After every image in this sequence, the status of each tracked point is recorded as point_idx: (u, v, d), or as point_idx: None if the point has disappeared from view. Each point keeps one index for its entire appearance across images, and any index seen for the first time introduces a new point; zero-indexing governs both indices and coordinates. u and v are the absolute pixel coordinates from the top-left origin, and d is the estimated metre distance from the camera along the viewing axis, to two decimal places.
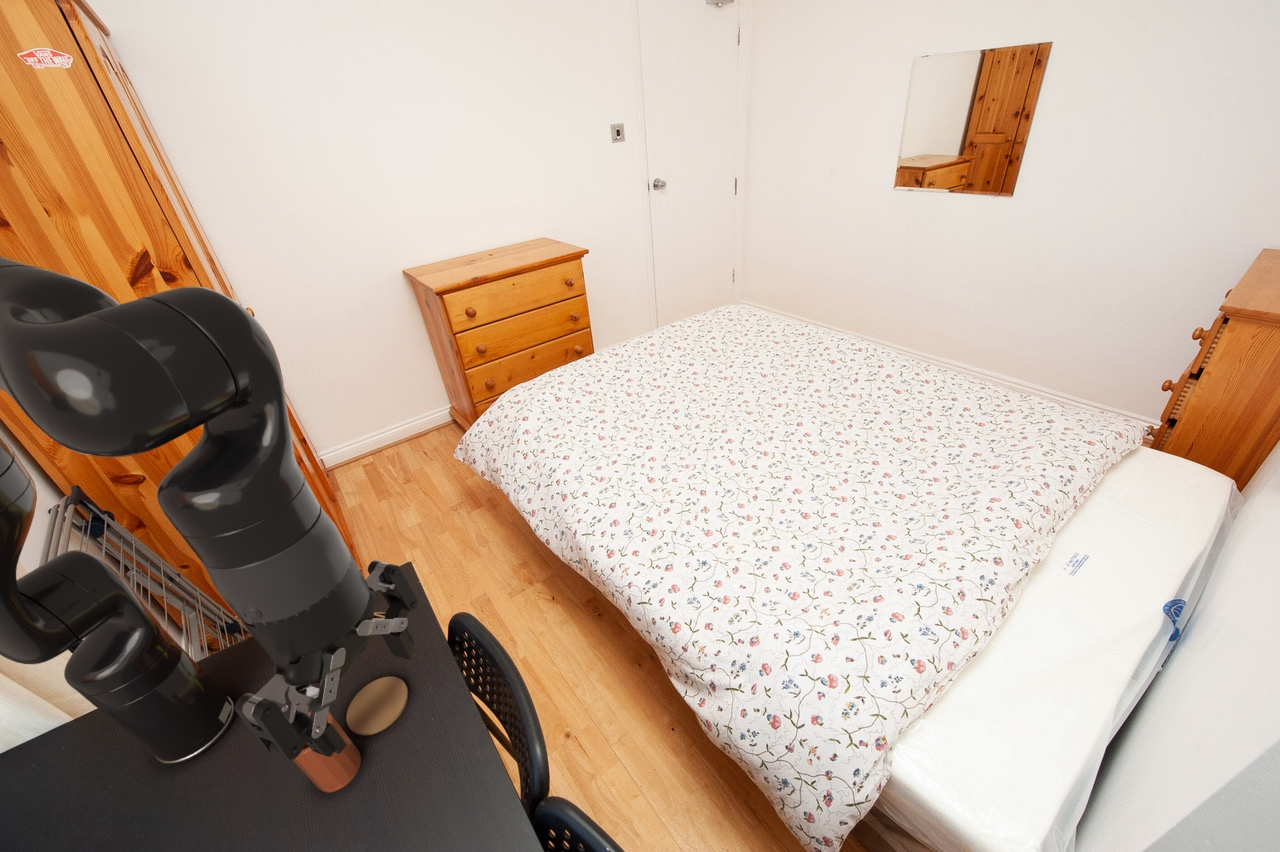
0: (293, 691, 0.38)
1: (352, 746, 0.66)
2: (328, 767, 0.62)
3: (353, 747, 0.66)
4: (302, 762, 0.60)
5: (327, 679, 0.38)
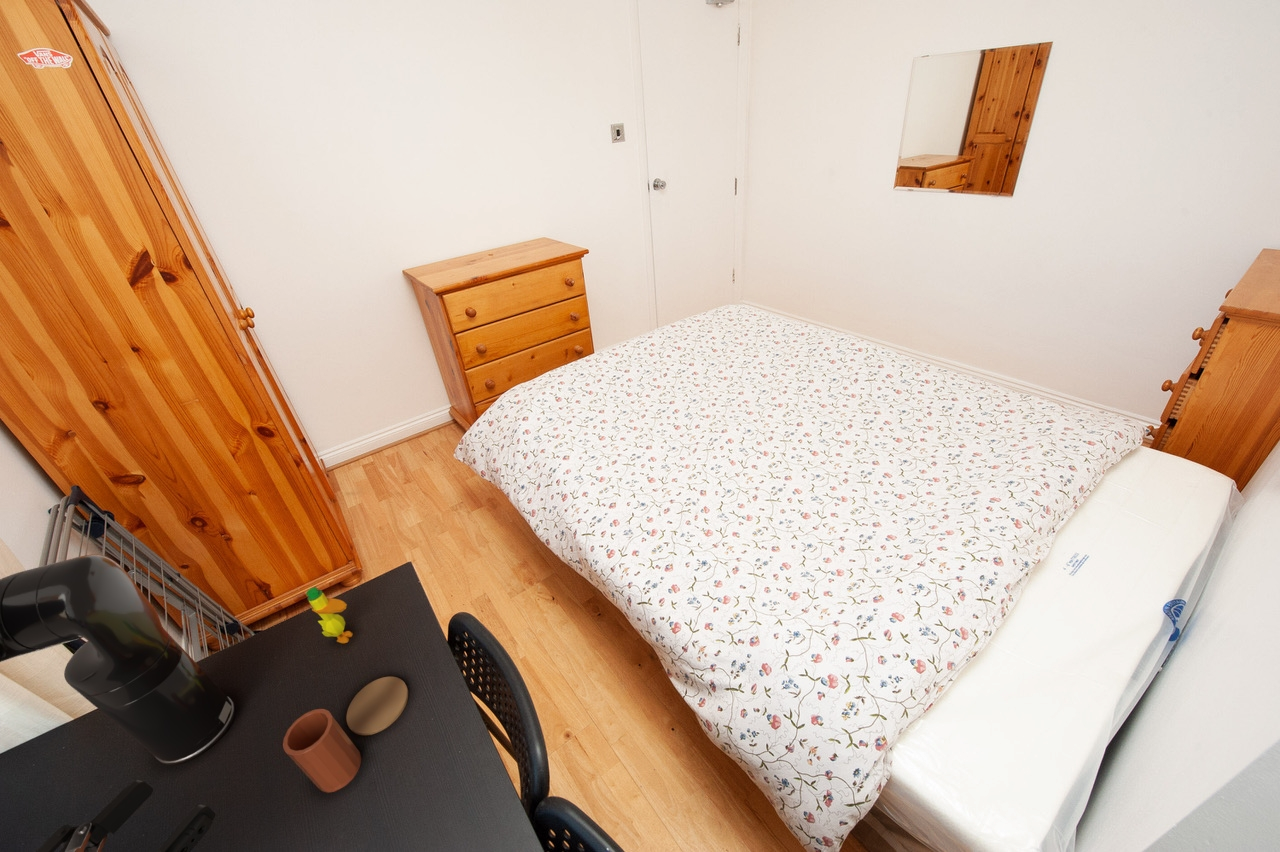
0: None
1: (352, 746, 0.66)
2: (328, 767, 0.62)
3: (353, 747, 0.66)
4: (302, 762, 0.60)
5: None
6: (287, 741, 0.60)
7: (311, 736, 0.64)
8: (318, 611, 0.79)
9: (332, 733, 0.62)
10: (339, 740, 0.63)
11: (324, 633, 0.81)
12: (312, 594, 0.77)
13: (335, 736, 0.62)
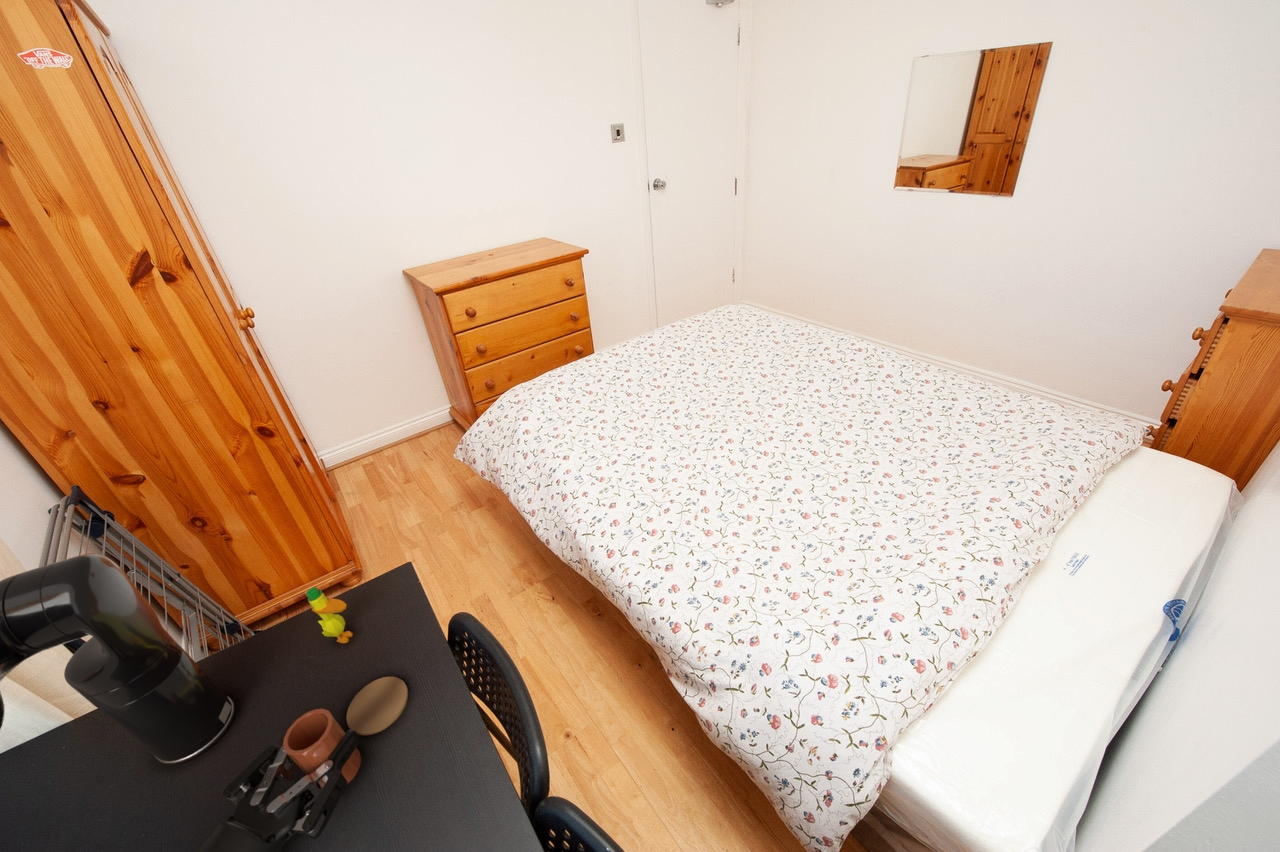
0: (268, 771, 0.60)
1: None
2: None
3: None
4: (302, 762, 0.60)
5: None
6: (287, 741, 0.60)
7: (311, 736, 0.64)
8: (318, 611, 0.79)
9: (332, 733, 0.62)
10: (339, 740, 0.63)
11: (324, 633, 0.81)
12: (312, 594, 0.77)
13: (335, 736, 0.62)
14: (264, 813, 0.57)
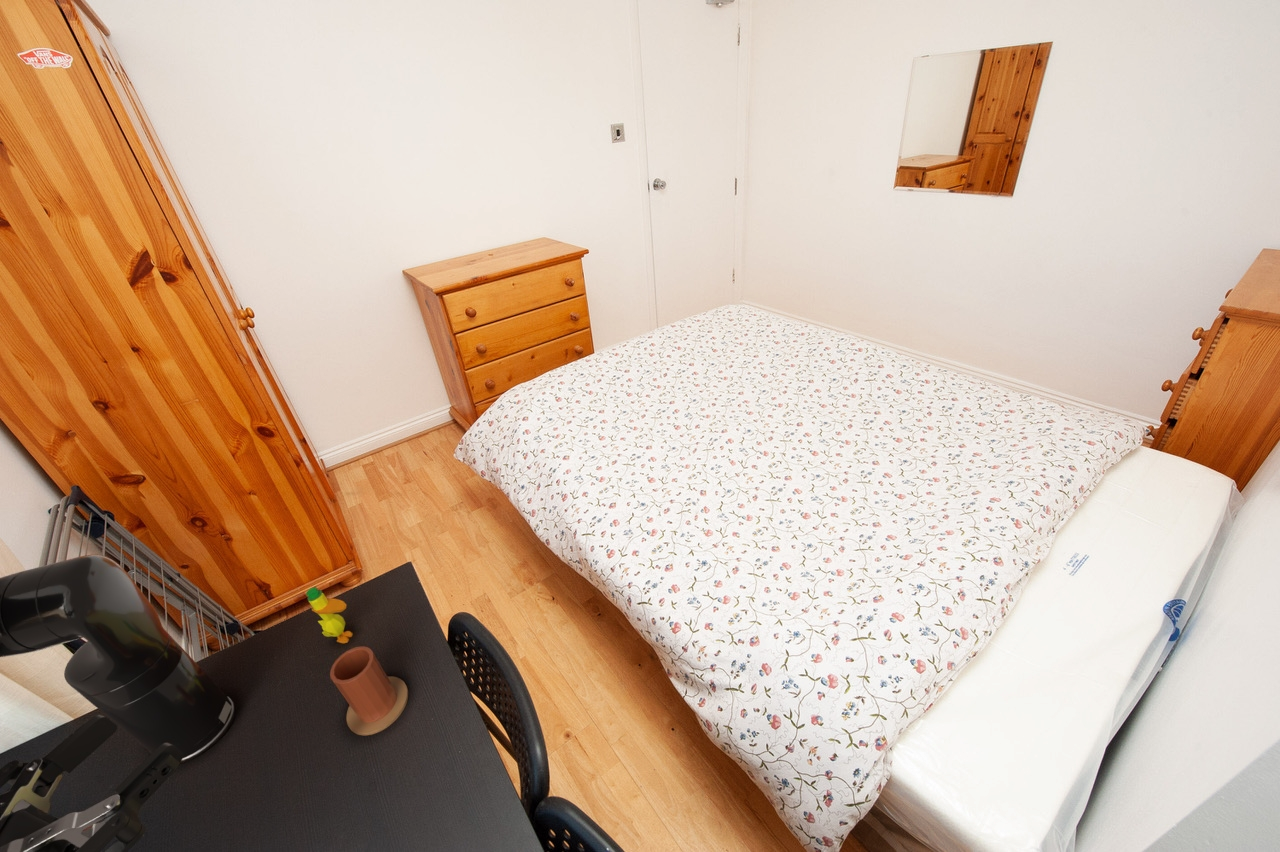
0: None
1: (389, 682, 0.73)
2: (369, 698, 0.69)
3: (390, 683, 0.73)
4: (347, 691, 0.67)
5: None
6: (334, 673, 0.67)
7: (352, 672, 0.71)
8: (318, 611, 0.79)
9: (373, 667, 0.69)
10: (379, 674, 0.70)
11: (324, 633, 0.81)
12: (312, 594, 0.77)
13: (376, 670, 0.69)
14: None
